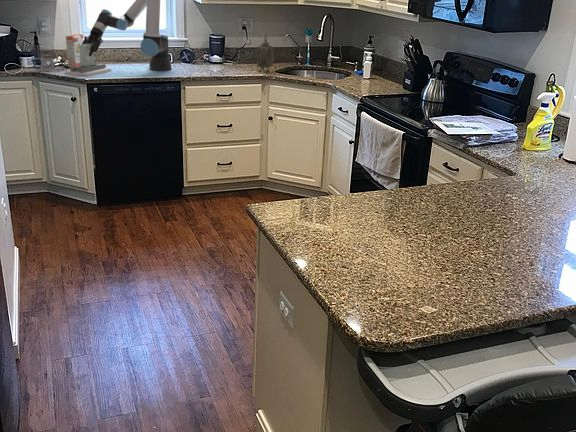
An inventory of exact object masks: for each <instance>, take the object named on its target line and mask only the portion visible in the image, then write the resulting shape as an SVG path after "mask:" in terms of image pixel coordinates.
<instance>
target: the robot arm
mask: <svg viewBox="0 0 576 432" xmlns="http://www.w3.org/2000/svg"><path fill="white" fill-rule="evenodd" d="M145 9H146V13H145V14H146V15H145V17H146V18H145V32H144V33H143V34H142V35H143V37H142V41H141V42H140V50H141V52H142V53H143V54H144V55H145V56H147V57H151V58H150V62H149V65H148V66H149V69H150V70H152V71H170V70H172V67H173V66H172V63H171V61H170V56H169V55H170V54H169V51H170V50H169V36H168V35H167V34H160V19H161V17H160V16H161V15H160V14H161V0H135V1H134V2H133V3H132V4H131V5H130V6H129V8H128V9H127V10H126V12H125V13H124V14H123V15H121V16H115V15H113V13H112V12H111V11H110V10H108V9H102V10H101V11H100V13H98V17H97V19H96V21H95V22H94V24H93V26H92V28H91V30H90V33H89V35H88V36H86V35H85V36H83V43H82V45H83V44H92V46H91V49H90V50H91V51H90V50H89V51H88V53H87V55H86V57H85V59H86V60H87V61H88V60H89V58H90V56H91V55H92V53H93V52H94V53H96V52H98V50H99V47H100V46H101V44H102V43H103V42H104V40H103V38H102V37H103V35H104V33H105V31H106V29H107V27H109V28H113V29H117V30H119V31H126V30H127V29H128V28H131V27H132V26H133V25H134V24H135V21H136V20H137V18H138V17H139V16H140V15H141V13H142V12H144V10H145ZM79 58H80V56H79Z"/></svg>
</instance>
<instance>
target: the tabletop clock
mask: <svg viewBox="0 0 576 432" xmlns="http://www.w3.org/2000/svg"><path fill="white" fill-rule="evenodd" d="M267 40H268V37H267V34H266V35H264V41H263V42H262V44H259V45H258V46H257V51H256V52H257V56H256V66H257V68H260V69H259V70H258V72H259V73H262V71H264V70H265V68H266V72H267V73H269V72H270V70H269V68H270V67H272V66H273V65H274V59H275V58H274V56H275V54H274V53H275V48H274V46H272V45H270V44H269V42H268V41H267Z"/></svg>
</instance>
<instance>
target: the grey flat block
mask: <svg viewBox="0 0 576 432" xmlns="http://www.w3.org/2000/svg"><path fill="white" fill-rule="evenodd" d="M108 72H112V68H110V67H109V68H107V67H106V63H102V64H99V63H98V64H97V63H96V62H95V65H90V66H76V67H71V68H69V70H64V74H70V75H77V76H85V77H90V76H91V77H92V76H95V75H99V74H104V73H108Z"/></svg>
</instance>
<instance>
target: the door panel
mask: <svg viewBox="0 0 576 432" xmlns="http://www.w3.org/2000/svg"><path fill="white" fill-rule="evenodd" d="M91 46H92V44H83V45H79V48H80V62H81V66H90V65H95V63H96V62H95V61H96V60H95V52H93V53H92V55H91V56H90V58H89V60H88V61H87V60H86V59H85V57H86V55H87V53H88V51H89V50H90V49H91ZM90 51H91V50H90Z"/></svg>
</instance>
